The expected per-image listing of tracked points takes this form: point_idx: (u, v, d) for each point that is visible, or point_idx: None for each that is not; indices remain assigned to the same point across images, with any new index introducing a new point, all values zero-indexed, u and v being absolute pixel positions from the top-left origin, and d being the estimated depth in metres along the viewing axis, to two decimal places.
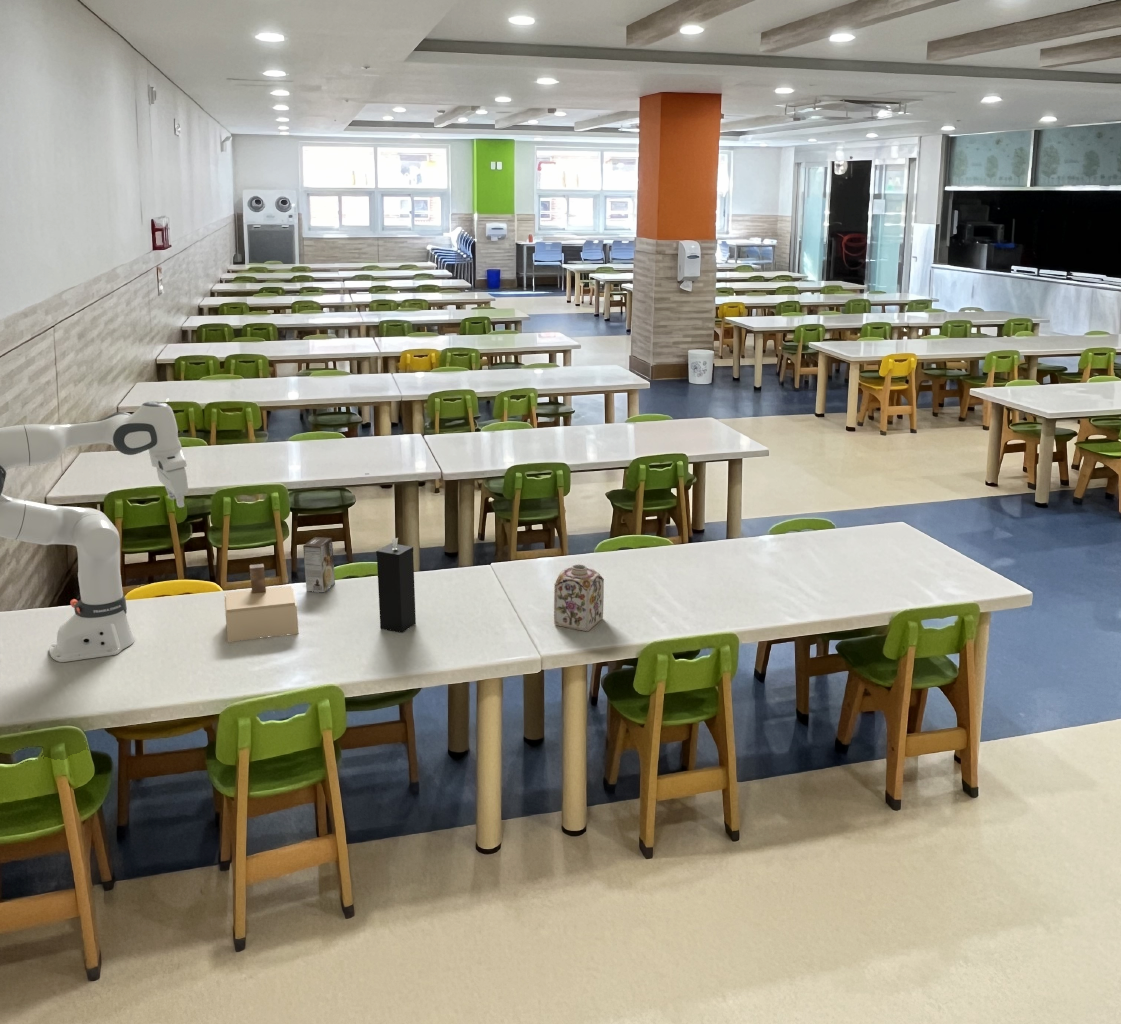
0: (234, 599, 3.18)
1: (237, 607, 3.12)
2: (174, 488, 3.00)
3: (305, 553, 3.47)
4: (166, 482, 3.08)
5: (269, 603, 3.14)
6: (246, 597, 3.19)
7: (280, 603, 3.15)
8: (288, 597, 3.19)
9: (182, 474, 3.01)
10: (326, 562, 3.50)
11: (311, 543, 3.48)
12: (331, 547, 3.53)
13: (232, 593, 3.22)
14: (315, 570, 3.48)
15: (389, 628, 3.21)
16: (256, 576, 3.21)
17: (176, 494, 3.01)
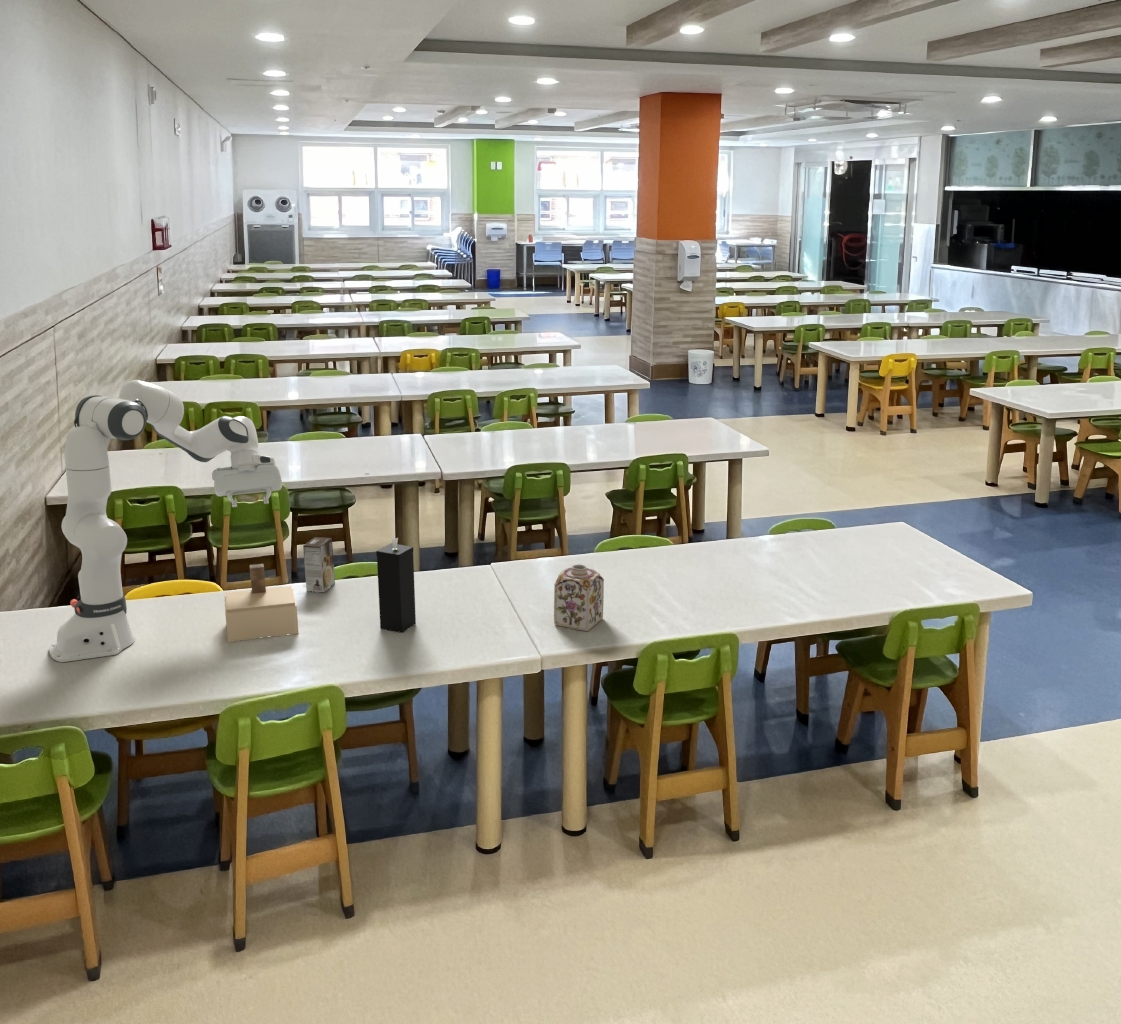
0: (234, 599, 3.18)
1: (237, 607, 3.12)
2: (280, 477, 3.35)
3: (305, 553, 3.47)
4: (251, 481, 3.32)
5: (269, 603, 3.14)
6: (246, 597, 3.19)
7: (280, 603, 3.15)
8: (288, 597, 3.19)
9: None
10: (326, 562, 3.50)
11: (311, 543, 3.48)
12: (331, 547, 3.53)
13: (232, 593, 3.22)
14: (315, 570, 3.48)
15: (389, 628, 3.21)
16: (256, 576, 3.21)
17: (280, 483, 3.34)
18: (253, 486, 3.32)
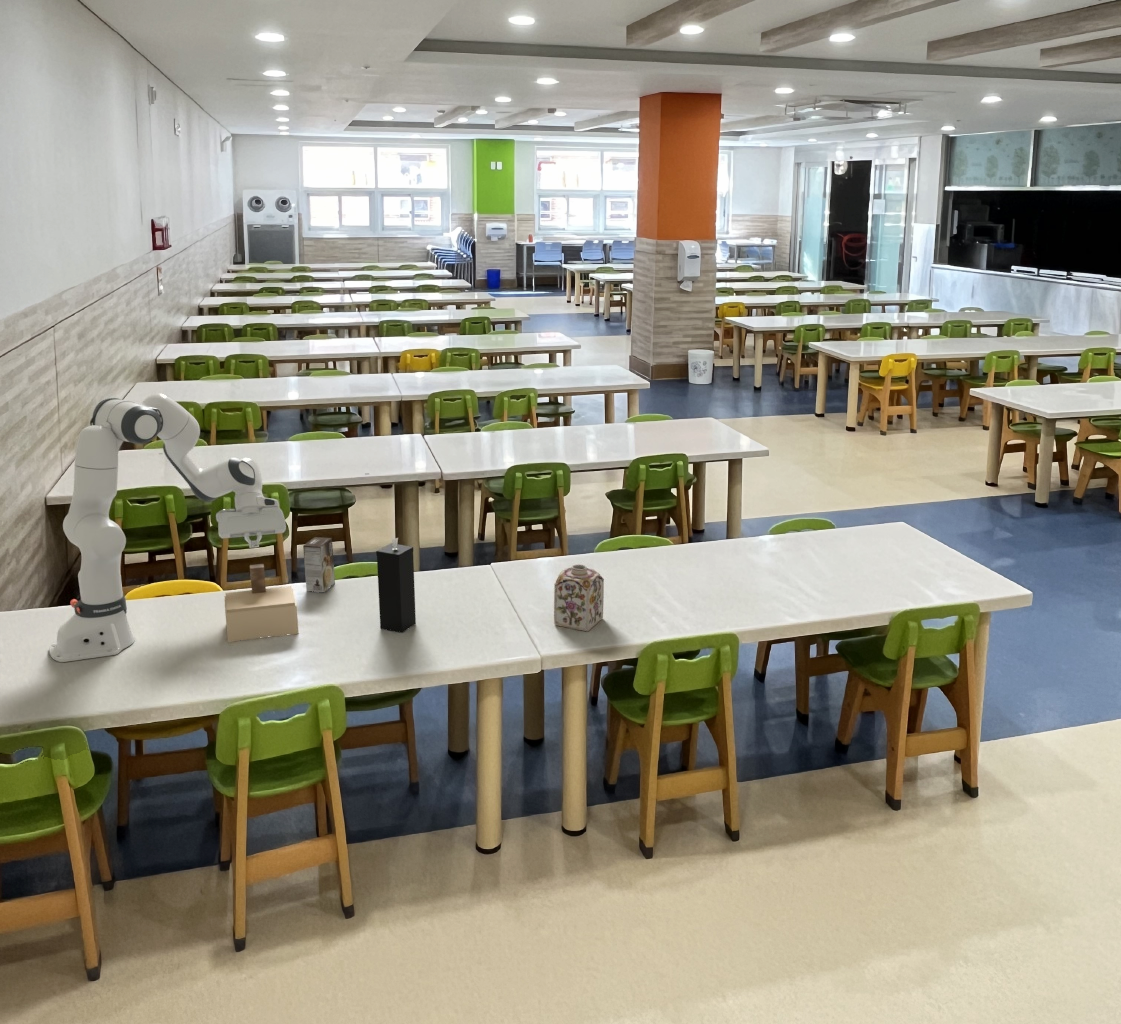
0: (234, 599, 3.18)
1: (237, 607, 3.12)
2: (284, 520, 3.35)
3: (305, 553, 3.47)
4: (255, 524, 3.33)
5: (269, 603, 3.14)
6: (246, 597, 3.19)
7: (280, 603, 3.15)
8: (288, 597, 3.19)
9: None
10: (326, 562, 3.50)
11: (311, 543, 3.48)
12: (331, 547, 3.53)
13: (232, 593, 3.22)
14: (315, 570, 3.48)
15: (389, 628, 3.21)
16: (256, 576, 3.21)
17: (284, 526, 3.35)
18: (257, 528, 3.32)
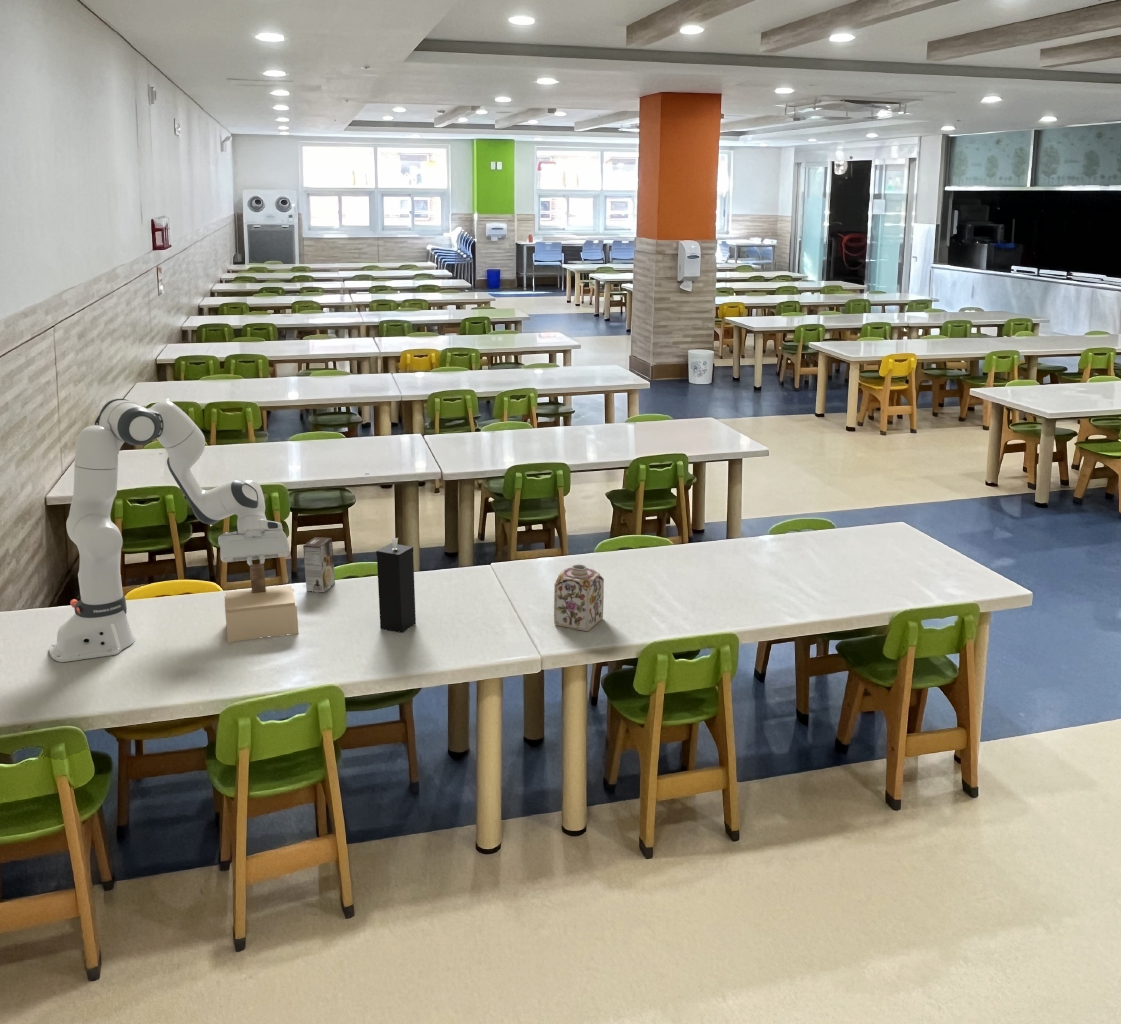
0: (234, 598, 3.18)
1: (237, 607, 3.12)
2: (288, 544, 3.29)
3: (305, 553, 3.47)
4: (258, 547, 3.26)
5: (269, 603, 3.14)
6: (246, 597, 3.19)
7: (280, 603, 3.15)
8: (288, 597, 3.19)
9: None
10: (326, 562, 3.50)
11: (311, 543, 3.48)
12: (331, 547, 3.53)
13: (232, 593, 3.22)
14: (315, 570, 3.48)
15: (389, 628, 3.21)
16: (256, 575, 3.21)
17: (288, 550, 3.28)
18: (260, 552, 3.25)
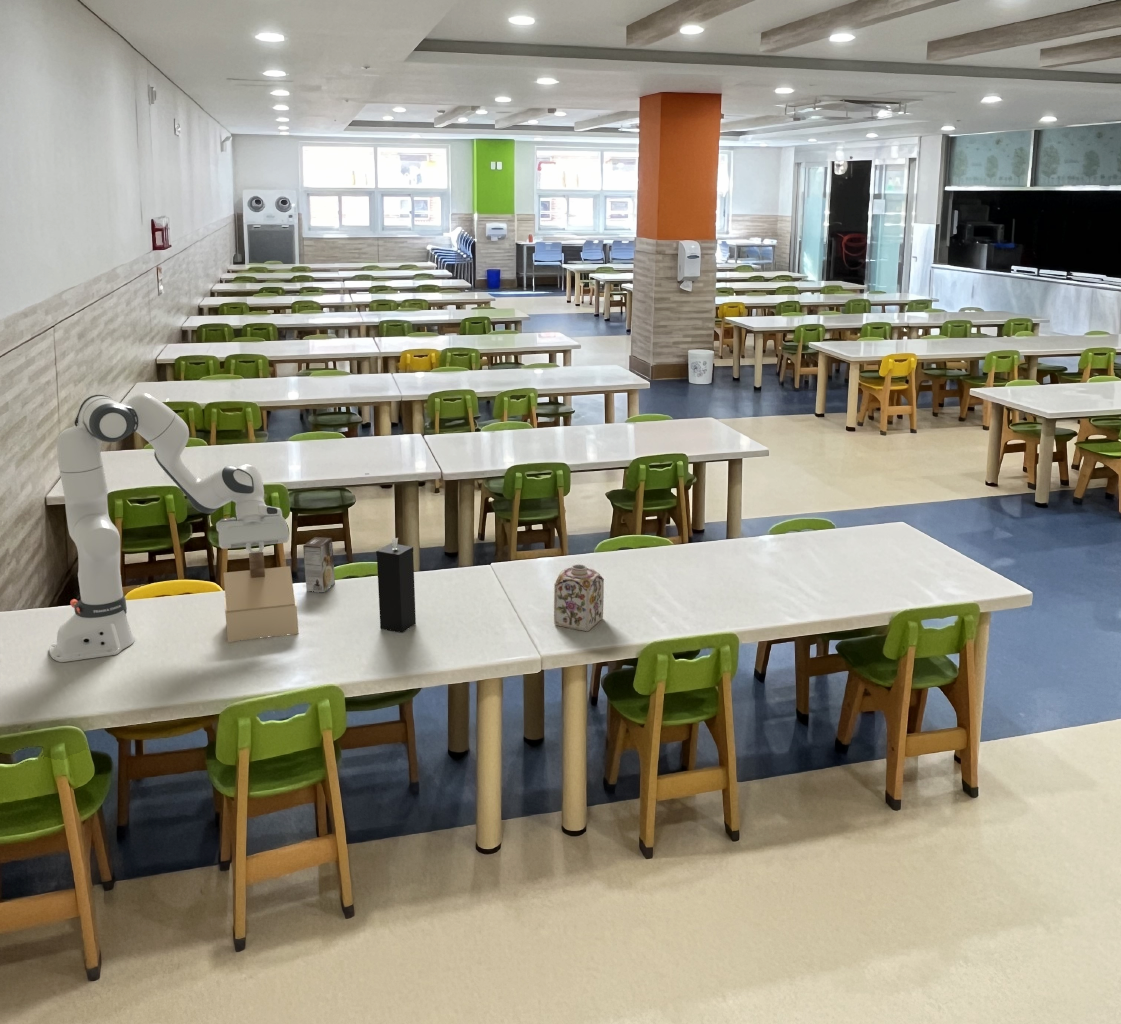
0: (233, 588, 3.15)
1: (237, 607, 3.11)
2: None
3: (305, 553, 3.47)
4: (257, 533, 3.18)
5: (269, 603, 3.14)
6: (245, 586, 3.16)
7: (280, 603, 3.14)
8: (288, 591, 3.17)
9: None
10: (326, 562, 3.50)
11: (311, 543, 3.48)
12: (331, 547, 3.53)
13: (230, 575, 3.18)
14: (315, 570, 3.48)
15: (389, 628, 3.21)
16: (256, 566, 3.15)
17: (288, 535, 3.21)
18: (259, 538, 3.18)
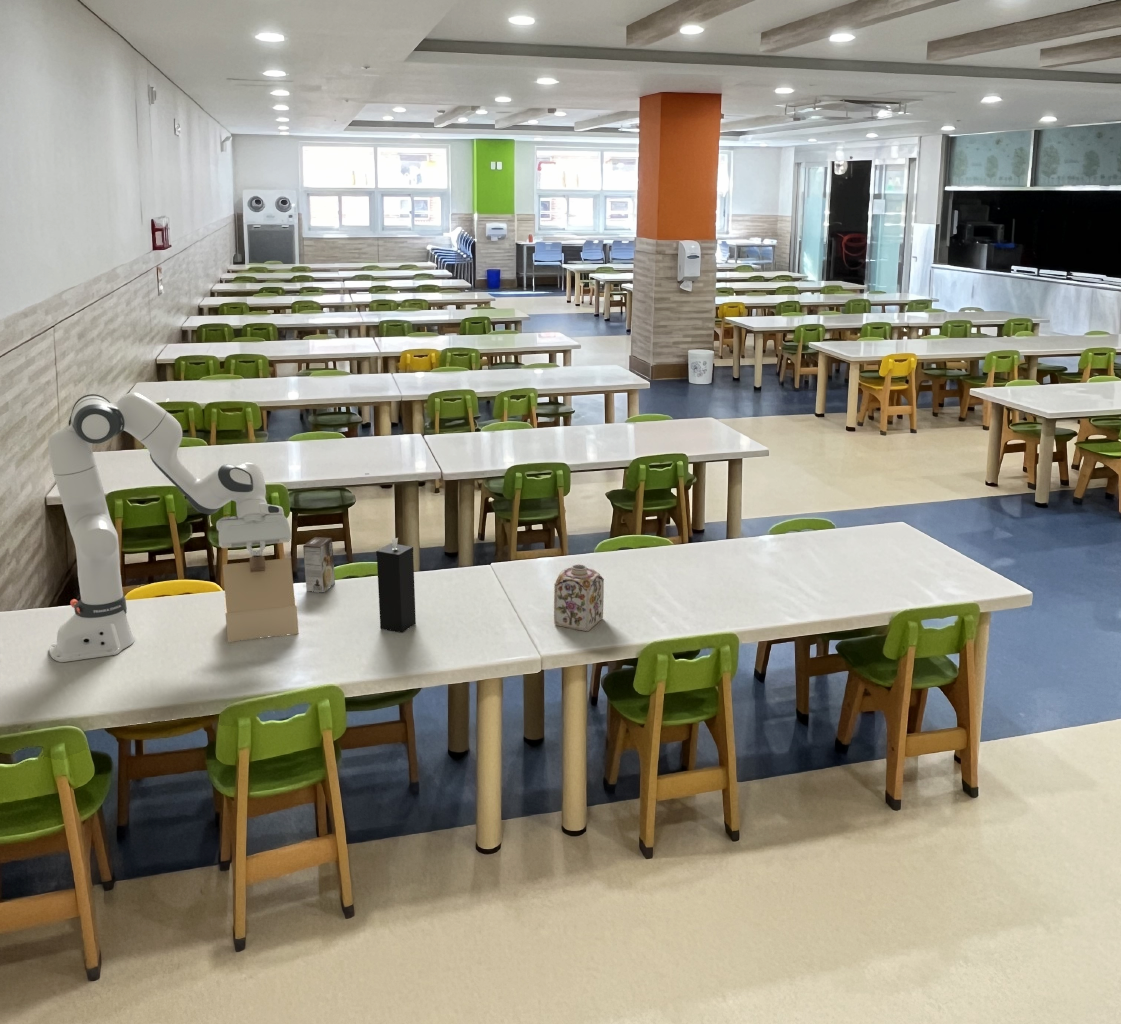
0: (232, 584, 3.11)
1: (237, 607, 3.10)
2: (289, 529, 3.14)
3: (305, 553, 3.47)
4: (258, 532, 3.11)
5: (269, 604, 3.13)
6: (245, 582, 3.12)
7: (280, 604, 3.14)
8: (288, 589, 3.15)
9: None
10: (326, 562, 3.50)
11: (311, 543, 3.48)
12: (331, 547, 3.53)
13: (230, 567, 3.12)
14: (315, 570, 3.48)
15: (389, 628, 3.21)
16: (256, 568, 3.09)
17: (289, 535, 3.13)
18: (260, 538, 3.11)
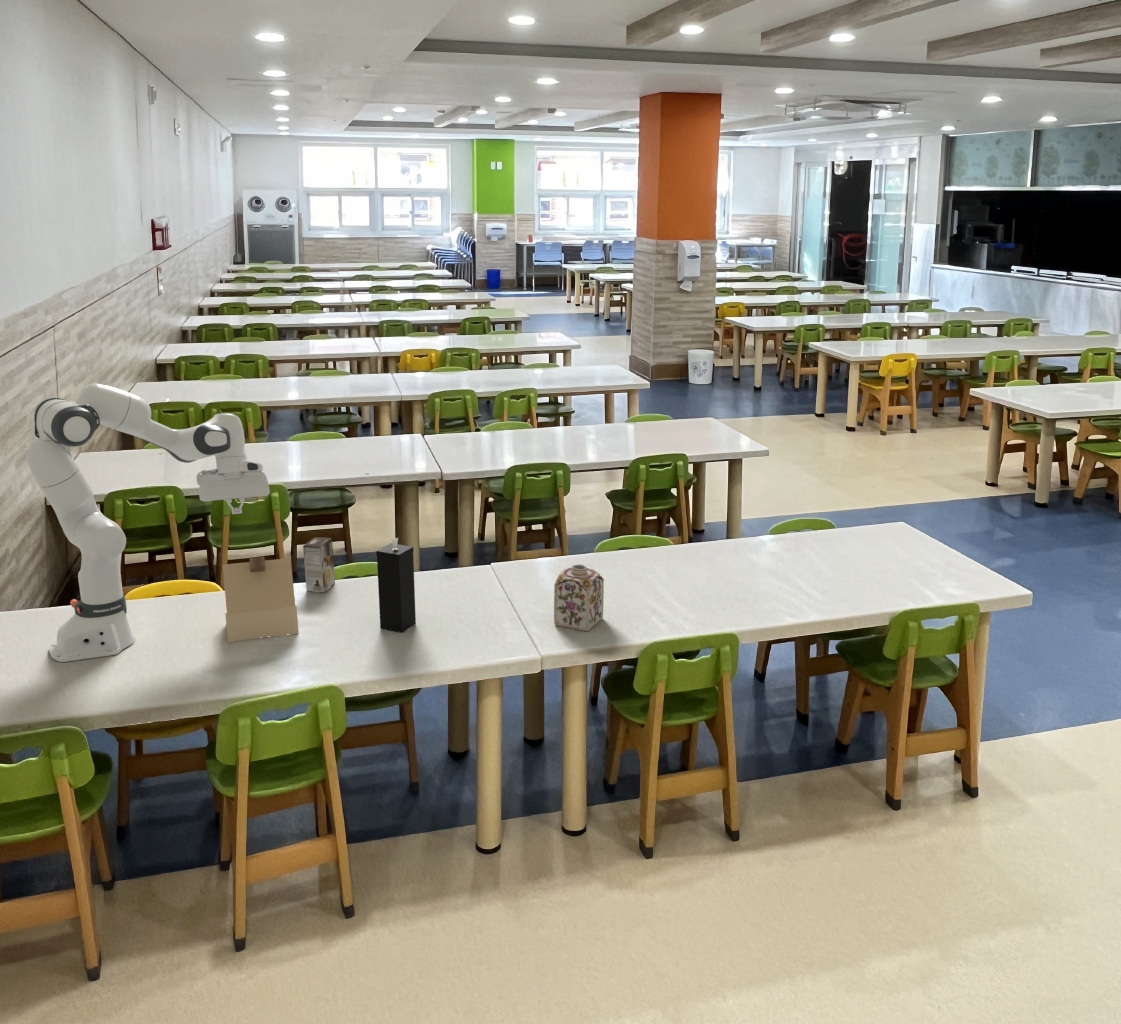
0: (232, 584, 3.11)
1: (237, 607, 3.10)
2: (268, 486, 3.23)
3: (305, 553, 3.47)
4: (237, 490, 3.21)
5: (269, 604, 3.13)
6: (245, 582, 3.12)
7: (280, 604, 3.14)
8: (288, 589, 3.15)
9: None
10: (326, 562, 3.50)
11: (311, 543, 3.48)
12: (331, 547, 3.53)
13: (230, 567, 3.12)
14: (315, 570, 3.48)
15: (389, 628, 3.21)
16: (256, 568, 3.09)
17: (268, 492, 3.23)
18: (240, 495, 3.21)
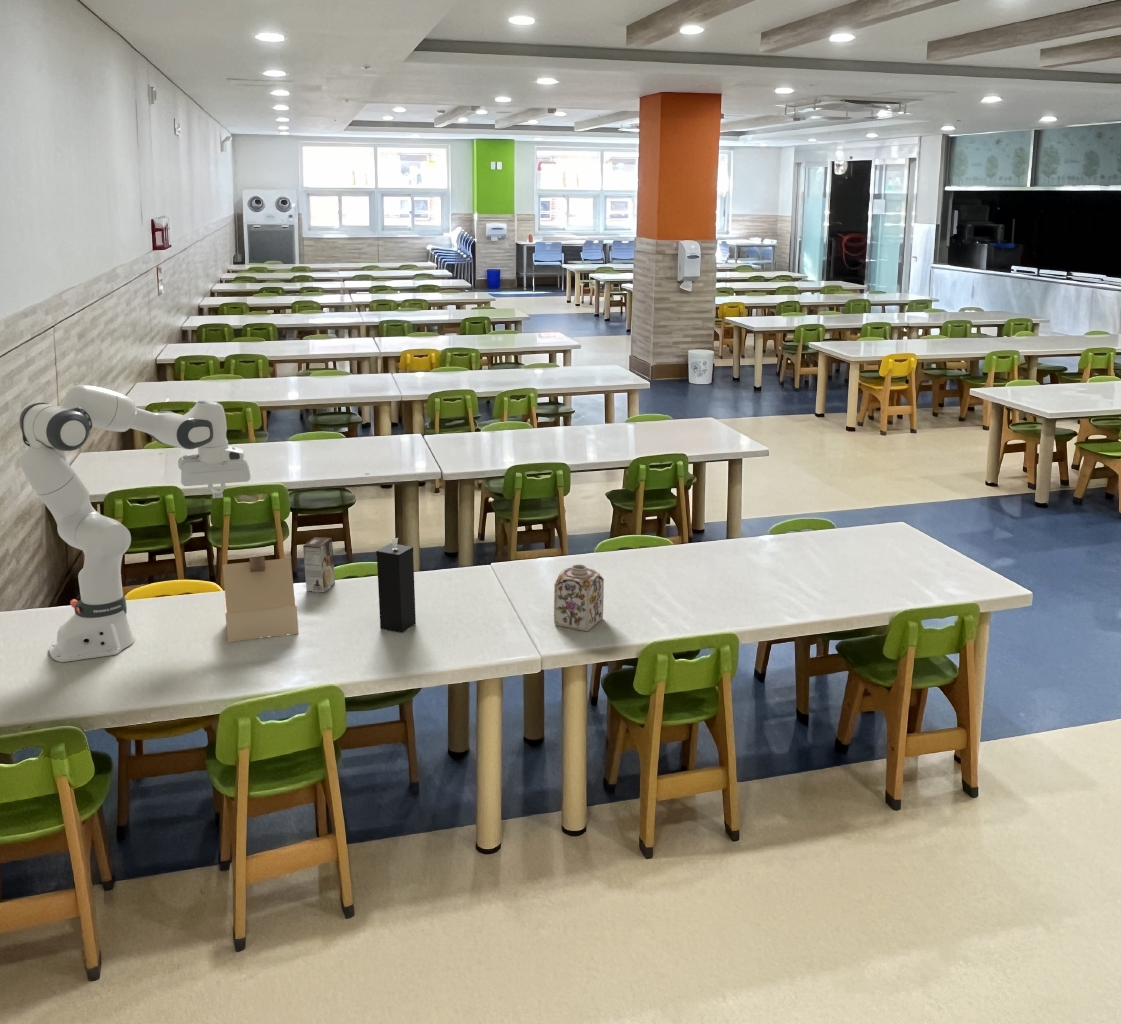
0: (232, 584, 3.11)
1: (237, 607, 3.10)
2: (249, 473, 3.29)
3: (305, 553, 3.47)
4: (219, 476, 3.27)
5: (269, 604, 3.13)
6: (245, 582, 3.12)
7: (280, 604, 3.14)
8: (288, 589, 3.15)
9: (246, 460, 3.31)
10: (326, 562, 3.50)
11: (311, 543, 3.48)
12: (331, 547, 3.53)
13: (230, 567, 3.12)
14: (315, 570, 3.48)
15: (389, 628, 3.21)
16: (256, 568, 3.09)
17: (249, 479, 3.30)
18: (221, 482, 3.27)
